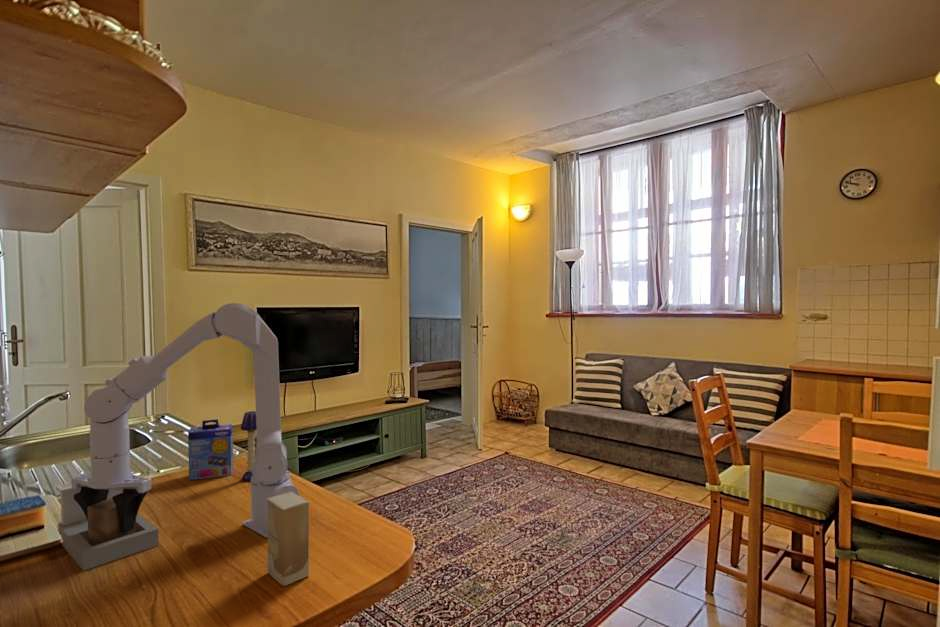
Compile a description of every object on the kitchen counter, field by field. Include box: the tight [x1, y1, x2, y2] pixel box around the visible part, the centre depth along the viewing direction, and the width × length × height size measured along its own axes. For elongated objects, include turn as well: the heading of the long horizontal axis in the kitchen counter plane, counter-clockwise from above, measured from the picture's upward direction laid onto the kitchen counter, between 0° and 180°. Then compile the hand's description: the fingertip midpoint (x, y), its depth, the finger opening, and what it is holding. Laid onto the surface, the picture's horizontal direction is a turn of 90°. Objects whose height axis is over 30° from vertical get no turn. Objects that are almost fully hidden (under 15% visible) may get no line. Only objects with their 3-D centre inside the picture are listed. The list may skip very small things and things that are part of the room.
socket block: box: [55, 482, 160, 571], centre depth 92 cm, size 18×11×10 cm, turn 50°
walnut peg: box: [87, 498, 136, 546], centre depth 90 cm, size 5×5×7 cm
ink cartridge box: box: [187, 419, 234, 481], centre depth 128 cm, size 10×6×14 cm, turn 113°
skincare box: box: [267, 492, 310, 587], centre depth 80 cm, size 6×4×12 cm
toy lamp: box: [240, 410, 257, 482], centre depth 125 cm, size 5×5×17 cm
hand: (112, 529), depth 90 cm, fingers closed on walnut peg, 6 cm apart
